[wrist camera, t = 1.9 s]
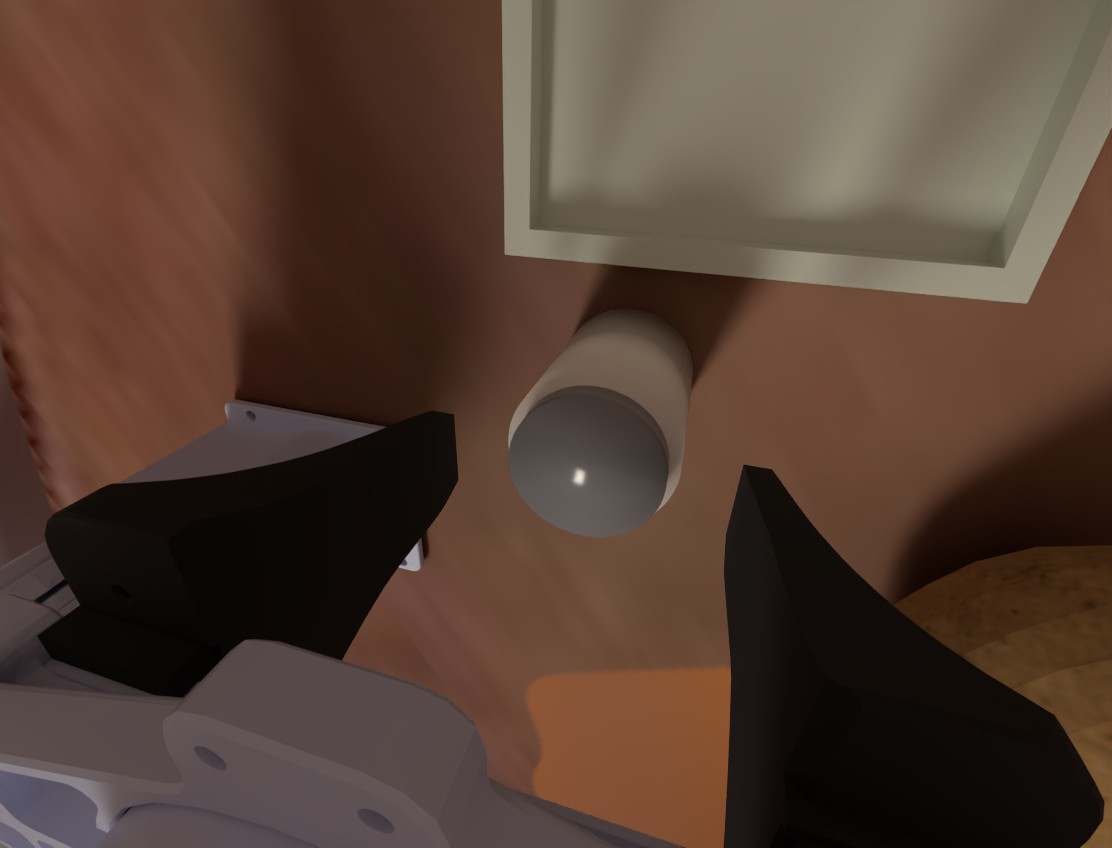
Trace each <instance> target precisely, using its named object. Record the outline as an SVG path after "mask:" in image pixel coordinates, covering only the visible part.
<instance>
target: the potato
mask: <svg viewBox="0 0 1112 848" xmlns="http://www.w3.org/2000/svg"><path fill="white" fill-rule="evenodd" d="M893 606H894V607H896V608H897V609H898V610H899V611H901V612H902V613H903V614H904V615H906V616H907V617H908V618H909V619H911V620H912V621H913V622H914V623H916V624H917V625H918V626H919V627H921V628H922V629H923V630H925V631H926V632H927V633H929V634H930V635H931V636H933V637H934V638H936V639H937V640H938V641H940V642H941V643H942V644H944V645H945V646H947V647H948V648H950V649H951V650H953V651H954V652H955V653H957V654H958V655H960V656H961V657H963V658H964V659H966V660H967V661H969V662H970V663H971V664H973V665H974V666H976V667H977V668H979V669H980V670H982V671H983V672H985V673H986V674H988V675H990V676H991V677H993V678H995V679H996V680H998V681H1000V682H1001V683H1003V684H1005V685H1006V686H1008V687H1009V688H1011V689H1013V690H1014V691H1016V692H1018V693H1019V694H1021V695H1023V696H1024V697H1026V698H1028V699H1029V700H1031V701H1032V702H1034V703H1036V704H1037V705H1039V706H1041V707H1042V708H1044V709H1046V710H1047V711H1049V712H1051V713H1052V714H1054V715H1055V716H1056V718H1057V720H1058V721H1059V722H1060V724H1061V725H1062V727H1063V728H1064V730H1065V732H1066V733H1067V735H1068V737H1069V738H1070V740H1071V741H1072V743H1073V745H1074V746H1075V748H1076V750H1077V751H1078V753H1079V755H1080V757H1081V758H1082V760H1083V762H1084V764H1085V765H1086V767H1087V769H1088V771H1089V772H1090V774H1091V776H1092V778H1093V779H1094V781H1095V783H1096V785H1097V787H1098V789H1099V791H1100V793H1101V795H1102V797H1103V799H1104V802H1105V805H1104V817H1103V821H1102V822H1101V824H1100V825H1099V827H1098V828H1097V829H1096V831H1095V832H1094V834H1093V835H1092V836H1091V838H1090V839H1089V840H1088V841H1087V842H1086V843H1085V844H1084V845H1083V846H1082V847H1081V848H1112V545H1102V546H1052V547H1034V548H1030V549H1026V550H1022V551H1018V552H1013V553H1009V554H1005V555H1001V556H997V557H993V558H989V559H985V560H980V561H976V562H973V563H971V564H969V565H967V566H965V567H963V568H961V569H959V570H957V571H955V572H953V573H950V574H948V575H946V576H944V577H942V578H940V579H938V580H936V581H934V582H932V583H930V584H927V585H925V586H924V587H922V588H920V589H919V590H917V591H915V592H914V593H912V594H911V595H909V596H907V597H906V598H904V599H902V600H901V601H899V602H897V603H896V604H894V605H893Z"/></svg>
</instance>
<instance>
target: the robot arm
mask: <svg viewBox="0 0 1112 848" xmlns="http://www.w3.org/2000/svg"><path fill="white" fill-rule="evenodd" d="M225 412H226V415H227V418H228V422H227V423H225V424H224V425H222V426H220V427H218V428H216V429H215V430H213V431H211V432H209V433H207V434H206V435H204V436H202V437H200V438H198V439H197V440H195V441H193V442H191V443H189V444H188V445H186V446H184V447H182V448H180V449H179V450H177V451H175V452H173V453H171V454H170V455H168V456H166V457H164V458H162V459H161V460H159V461H157V462H155V463H154V464H152V465H150V466H148V467H146V468H145V469H143V470H141V471H139V472H137V473H136V474H134V475H132V476H130V477H128V478H127V479H125V480H123V481H121V482H119V483H118V484H110V485H107V486H105V487H103V488H100V489H99V490H97V491H95V492H93V493H91V494H90V495H88V496H86V497H84V498H82V499H80V500H79V501H77V502H75V503H73V504H71V505H69V506H68V507H66V508H64V509H62V510H60V511H59V512H57V513H55V514H54V515H53V516H52V517H51V518H50V519H48V521H47V527H46V531H45V538H46V542H45V543H43V544H41V545H39V546H38V547H36V548H34V549H32V550H31V551H29V552H27V553H25V554H23V555H22V556H20V557H18V558H16V559H15V560H13V561H11V562H9V563H8V564H6V565H4V566H2V567H1V568H0V848H685V847H682V846H679V845H676V844H673V843H670V842H667V841H664V840H661V839H659V838H655V837H653V836H650V835H647V834H644V833H641V832H638V831H635V830H632V829H629V828H626V827H623V826H621V825H618V824H615V823H611V822H609V821H606V820H603V819H600V818H597V817H594V816H591V815H588V814H585V813H582V812H579V811H577V810H573V809H571V808H568V807H565V806H562V805H559V804H556V803H553V802H550V801H547V800H544V799H541V798H538V797H536V796H533V795H530V794H527V793H524V792H521V791H518V790H515V789H512V788H509V787H507V786H505V785H503V784H501V783H500V782H498V781H496V780H494V779H492V778H490V777H488V773H487V754H486V750H485V748H484V746H483V743H482V741H481V739H480V736H479V734H478V732H477V729H476V727H475V725H474V722H473V721H472V720H471V719H470V718H469V717H468V716H467V715H466V714H465V713H464V712H463V711H461V710H460V709H459V708H458V707H457V706H456V705H455V704H454V703H453V702H452V701H451V700H449V699H448V698H446V697H444V696H442V695H440V694H437V693H435V692H433V691H431V690H429V689H427V688H425V687H423V686H421V685H419V684H416V683H413V682H410V681H406V680H403V679H400V678H397V677H393V676H390V675H387V674H384V673H380V672H377V671H374V670H371V669H367V668H364V667H361V666H358V665H354V664H351V663H348V662H344V661H342V659H343V657H344V655H345V653H346V652H347V650H348V648H349V646H350V645H351V643H352V641H353V639H354V638H355V636H356V634H357V632H358V630H359V629H360V627H361V625H362V623H363V622H364V620H365V618H366V616H367V615H368V613H369V611H370V610H371V608H372V607H373V605H374V603H375V602H376V600H377V598H378V597H379V595H380V593H381V592H382V590H383V588H384V587H385V585H386V584H387V582H388V581H389V580H390V578H391V577H392V575H393V574H394V572H395V571H396V570H397V569H398V567H399V568H403V569H407V570H411V571H418V570H420V568H421V567H422V566H423V564H424V557H423V549H422V540H421V537H422V536H423V535H424V533H425V532H426V531H427V529H428V528H429V527H430V525H431V524H432V523H433V521H434V520H435V519H436V517H437V516H438V515H439V513H440V512H441V511H442V509H443V507H444V505H445V504H446V502H447V500H448V499H449V497H450V495H451V493H452V491H453V489H454V487H455V485H456V483H457V481H458V467H457V452H456V438H455V423H454V414H448V413H443V412H437V411H430V412H426V413H423V414H420V415H417V416H414V417H411V418H409V419H406V420H403V421H401V422H398V423H396V424H393V425H391V426H388V427H384V426H378V425H373V424H367V423H362V422H356V421H351V420H345V419H340V418H334V417H329V416H323V415H318V414H312V413H307V412H301V411H296V410H290V409H285V408H279V407H274V406H268V405H263V404H257V403H252V402H246V401H241V400H232V401H230V402H228V403H226V405H225ZM724 580H725V593H726V607H727V619H728V632H729V645H730V657H731V704H730V734H729V758H728V781H727V799H726V818H725V835H724V848H1081V847H1082V846H1083V845H1084V844H1085V843H1086V842H1087V841H1088V840H1089V839H1090V838H1091V836H1092V835H1093V834H1094V832H1095V831H1096V829H1097V828H1098V827H1099V825H1100V824H1101V822H1102V821H1103V817H1104V805H1105V802H1104V799H1103V797H1102V795H1101V793H1100V791H1099V789H1098V787H1097V785H1096V783H1095V781H1094V779H1093V778H1092V776H1091V774H1090V772H1089V771H1088V769H1087V767H1086V765H1085V764H1084V762H1083V760H1082V758H1081V757H1080V755H1079V753H1078V751H1077V750H1076V748H1075V746H1074V745H1073V743H1072V741H1071V740H1070V738H1069V737H1068V735H1067V733H1066V732H1065V730H1064V728H1063V727H1062V725H1061V724H1060V722H1059V721H1058V720H1057V718H1056V716H1055V715H1054V714H1052V713H1051V712H1049V711H1047V710H1046V709H1044V708H1042V707H1041V706H1039V705H1037V704H1036V703H1034V702H1032V701H1031V700H1029V699H1028V698H1026V697H1024V696H1023V695H1021V694H1019V693H1018V692H1016V691H1014V690H1013V689H1011V688H1009V687H1008V686H1006V685H1005V684H1003V683H1001V682H1000V681H998V680H996V679H995V678H993V677H991V676H990V675H988V674H986V673H985V672H983V671H982V670H980V669H979V668H977V667H976V666H974V665H973V664H971V663H970V662H969V661H967V660H966V659H964V658H963V657H961V656H960V655H958V654H957V653H955V652H954V651H953V650H951V649H950V648H948V647H947V646H945V645H944V644H942V643H941V642H940V641H938V640H937V639H936V638H934V637H933V636H931V635H930V634H929V633H927V632H926V631H925V630H923V629H922V628H921V627H919V626H918V625H917V624H916V623H914V622H913V621H912V620H911V619H909V618H908V617H907V616H906V615H904V614H903V613H902V612H901V611H899V610H898V609H897V608H896V607H894V606H893V605H892V604H891V603H889V602H888V601H887V600H886V599H885V598H884V597H883V596H881V595H880V594H879V593H878V592H877V591H876V590H874V589H873V588H872V587H871V586H870V585H869V584H868V583H867V582H866V581H865V580H864V579H863V578H862V577H861V576H860V575H859V574H857V573H856V572H855V571H854V570H853V569H852V568H851V567H850V566H849V565H848V564H847V563H846V562H845V561H844V560H843V559H842V558H841V557H840V555H839V554H838V553H837V552H836V551H835V550H834V549H833V548H832V547H831V545H830V544H829V543H828V542H827V541H826V540H825V539H824V538H823V537H822V535H821V534H820V533H819V532H818V531H817V529H816V528H815V527H814V526H813V525H812V523H811V522H810V521H809V520H808V518H807V517H806V516H805V514H804V513H803V512H802V510H801V509H800V508H799V506H798V505H797V504H796V502H795V501H794V500H793V498H792V497H791V495H790V494H789V493H788V491H787V490H786V488H785V487H784V485H783V484H782V483H781V481H780V480H779V478H778V477H777V476H776V474H775V473H774V471H773V470H772V469H766V468H761V467H755V466H749V465H744V466H743V469H742V473H741V477H740V481H739V485H738V489H737V493H736V497H735V501H734V505H733V509H732V513H731V517H730V521H729V525H728V529H727V533H726V544H725V561H724Z"/></svg>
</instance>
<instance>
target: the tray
mask: <svg viewBox="0 0 1112 848" xmlns="http://www.w3.org/2000/svg"><path fill="white" fill-rule="evenodd" d="M502 53H503V141H504V230H505V255H514V256H525V257H536V258H546V259H557V260H567V261H578V262H589V263H599V264H610V265H621V266H631V267H642V268H653V269H663V270H674V271H685V272H695V273H706V274H717V275H727V276H738V277H748V278H759V279H770V280H780V281H791V282H802V283H812V284H823V285H834V286H844V287H855V288H866V289H876V290H887V291H897V292H908V293H919V294H929V295H940V296H951V297H961V298H972V299H983V300H993V301H1004V302H1015V303H1025V304H1027V302H1028V300H1029V298H1030V296H1031V294H1032V292H1033V290H1034V288H1035V286H1036V284H1037V282H1038V279H1039V277H1040V275H1041V273H1042V271H1043V269H1044V267H1045V265H1046V263H1047V261H1048V259H1049V257H1050V254H1051V252H1052V250H1053V248H1054V246H1055V244H1056V242H1057V240H1058V238H1059V236H1060V234H1061V232H1062V230H1063V227H1064V225H1065V223H1066V221H1067V219H1068V217H1069V215H1070V213H1071V211H1072V209H1073V207H1074V205H1075V203H1076V200H1077V198H1078V196H1079V194H1080V192H1081V190H1082V188H1083V186H1084V184H1085V182H1086V180H1087V178H1088V175H1089V173H1090V171H1091V169H1092V167H1093V165H1094V163H1095V161H1096V159H1097V157H1098V155H1099V153H1100V151H1101V148H1102V146H1103V144H1104V142H1105V140H1106V138H1107V136H1108V134H1109V132H1110V130H1111V128H1112V0H502Z"/></svg>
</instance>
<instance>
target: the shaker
mask: <svg viewBox="0 0 1112 848" xmlns="http://www.w3.org/2000/svg"><path fill="white" fill-rule="evenodd" d="M692 379H693V363H692V358H691V354H690V351H689V348H688V346H687V344H686V342H685V340H684V339H683V338H682V336H681V335H680V333H679V332H678V331H677V330H676V329H675V328H674V327H673V326H672V325H671V324H670V323H668V322H667V321H666V320H664V319H662V318H661V317H659V316H657V315H655V314H653V313H650V312H647V311H644V310H639V309H633V308H621V309H613V310H609V311H606V312H603V313H600V314H598V315H596V316H594V317H592V318H591V319H590V320H588V321H587V322H585V323H584V324H583V325H582V326H581V327H580V328H579V330H578V331H577V332H576V333H575V335H574V336H573V337H572V338H571V340H570V341H569V342H568V343H567V345H566V346H565V347H564V349H563V350H562V351H561V352H560V354H559V355H558V356H557V358H556V359H555V360H554V361H553V363H552V364H551V365H550V366H549V368H548V369H547V370H546V372H545V373H544V374H543V375H542V377H541V378H540V379H539V380H538V382H537V383H536V384H535V386H534V387H533V388H532V389H531V391H530V392H529V393H528V394H527V396H526V397H525V398H524V400H523V401H522V402H521V403H520V405H519V406H518V408H517V410H516V412H515V413H514V416H513V418H512V421H511V424H510V429H509V438H508V444H509V457H508V460H509V469H510V473H511V477H512V480H513V482H514V485H515V487H516V489H517V491H518V493H519V494H520V496H521V497H522V499H523V500H524V501H525V502H526V504H527V505H528V506H529V507H530V508H531V509H532V510H533V511H534V512H535V513H536V514H537V515H539V516H540V517H541V518H543V519H544V520H545V521H547V522H549V523H550V524H552V525H554V526H556V527H558V528H560V529H562V530H565V531H567V532H570V533H574V534H577V535H582V536H588V537H610V536H616V535H620V534H624V533H627V532H629V531H632V530H634V529H636V528H638V527H639V526H641V525H643V524H644V523H645V522H646V521H648V520H649V519H650V518H651V517H652V516H653V514H654V513H655V512H657V511H658V510H659V509H660V508H661V507H663V505H664V504H665V503H666V502H667V501H668V500H669V499H670V497H671V496H672V494H673V493H674V491H675V489H676V487H677V484H678V482H679V478H680V475H681V469H682V461H683V453H684V445H685V436H686V428H687V420H688V412H689V404H690V395H691V387H692Z"/></svg>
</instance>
